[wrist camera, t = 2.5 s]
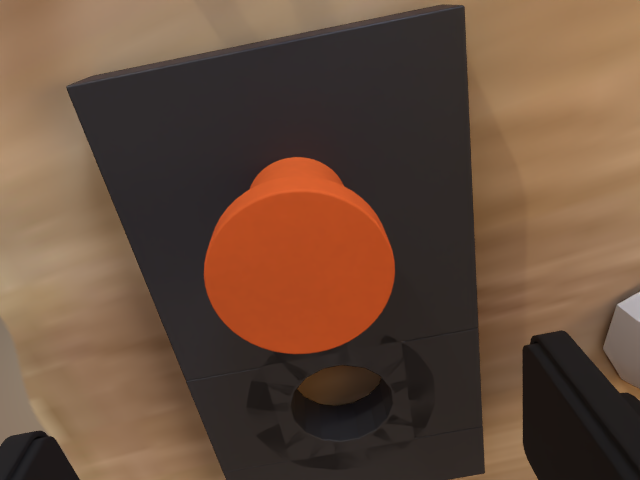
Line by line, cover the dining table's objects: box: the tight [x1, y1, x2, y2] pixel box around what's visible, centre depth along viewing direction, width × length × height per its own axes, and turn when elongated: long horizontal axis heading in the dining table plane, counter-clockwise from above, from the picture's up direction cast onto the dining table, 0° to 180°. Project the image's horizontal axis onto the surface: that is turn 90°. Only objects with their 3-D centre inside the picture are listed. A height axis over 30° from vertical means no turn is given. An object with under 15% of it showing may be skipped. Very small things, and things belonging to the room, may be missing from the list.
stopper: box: [204, 157, 395, 354], centre depth 17 cm, size 6×6×6 cm
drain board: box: [66, 5, 485, 480], centre depth 23 cm, size 24×14×2 cm, turn 10°
